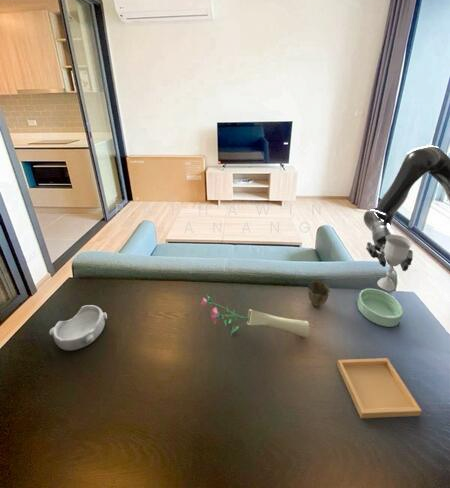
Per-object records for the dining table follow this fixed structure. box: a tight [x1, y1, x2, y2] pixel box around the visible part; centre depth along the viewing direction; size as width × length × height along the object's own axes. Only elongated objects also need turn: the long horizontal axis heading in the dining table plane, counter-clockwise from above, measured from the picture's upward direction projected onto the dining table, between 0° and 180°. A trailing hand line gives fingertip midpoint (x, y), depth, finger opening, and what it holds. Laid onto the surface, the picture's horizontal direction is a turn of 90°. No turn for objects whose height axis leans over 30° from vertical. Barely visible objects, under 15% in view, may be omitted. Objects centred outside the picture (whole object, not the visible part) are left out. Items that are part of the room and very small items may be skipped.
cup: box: [307, 279, 331, 308], centre depth 90 cm, size 8×7×8 cm
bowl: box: [356, 287, 404, 328], centre depth 87 cm, size 13×13×4 cm
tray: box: [336, 357, 423, 419], centre depth 65 cm, size 15×13×2 cm
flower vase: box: [200, 292, 311, 339], centre depth 80 cm, size 12×12×35 cm
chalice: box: [376, 234, 414, 292], centre depth 80 cm, size 7×7×18 cm
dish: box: [49, 304, 108, 351], centre depth 79 cm, size 14×14×5 cm
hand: (394, 266), depth 77 cm, fingers closed on chalice, 5 cm apart
